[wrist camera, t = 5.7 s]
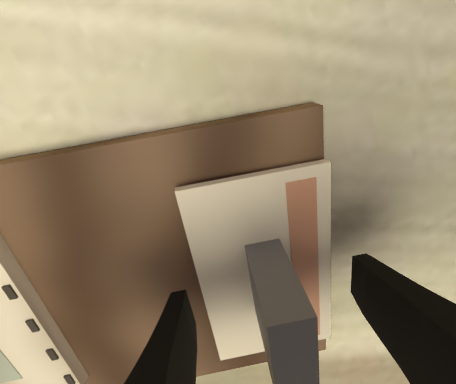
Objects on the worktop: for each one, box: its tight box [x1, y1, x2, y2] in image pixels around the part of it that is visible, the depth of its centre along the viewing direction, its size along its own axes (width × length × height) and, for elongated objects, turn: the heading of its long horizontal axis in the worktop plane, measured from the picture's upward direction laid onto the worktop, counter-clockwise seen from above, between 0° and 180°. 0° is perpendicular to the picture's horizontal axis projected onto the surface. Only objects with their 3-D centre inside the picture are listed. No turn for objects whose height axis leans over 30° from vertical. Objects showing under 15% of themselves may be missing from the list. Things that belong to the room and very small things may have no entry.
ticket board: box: [0, 102, 326, 384], centre depth 13 cm, size 22×14×2 cm, turn 99°
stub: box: [175, 159, 331, 384], centre depth 11 cm, size 6×10×4 cm, turn 9°
